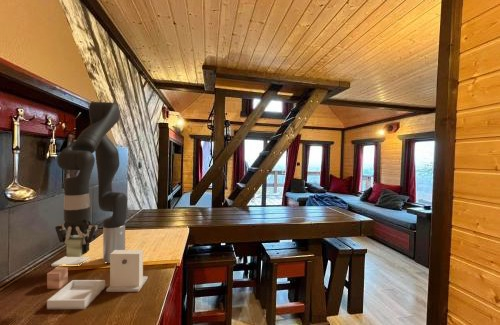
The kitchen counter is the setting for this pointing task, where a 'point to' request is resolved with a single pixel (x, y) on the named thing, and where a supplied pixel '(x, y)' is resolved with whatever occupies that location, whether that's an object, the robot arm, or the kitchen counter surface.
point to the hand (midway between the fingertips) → (77, 252)
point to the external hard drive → (70, 261)
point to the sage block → (74, 246)
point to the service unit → (126, 271)
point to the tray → (76, 294)
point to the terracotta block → (57, 278)
